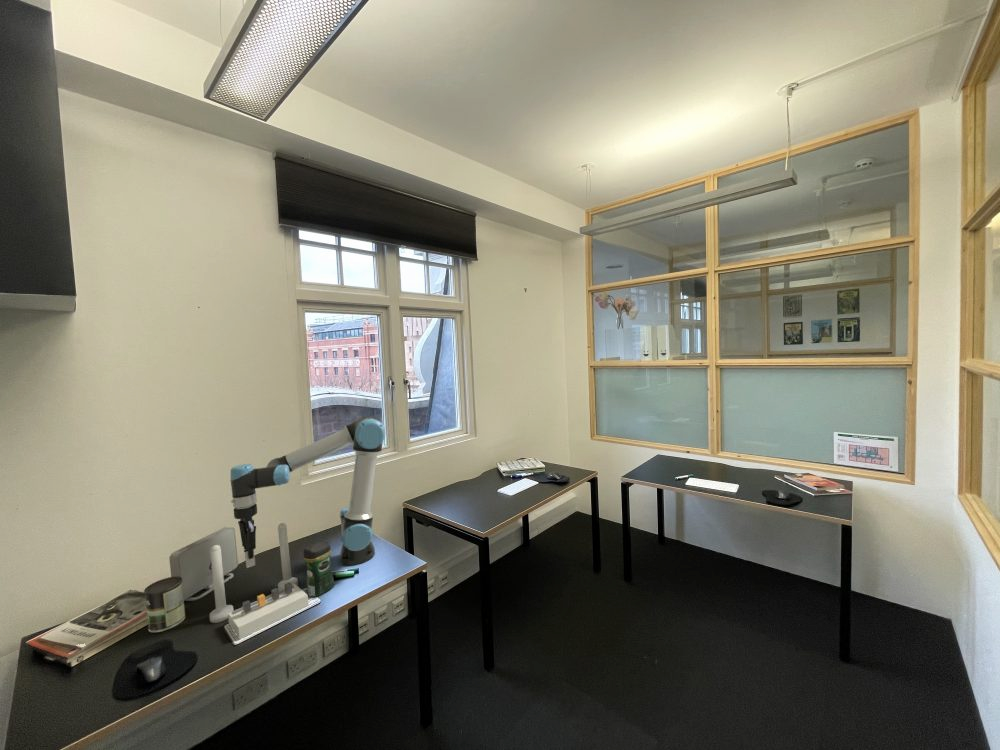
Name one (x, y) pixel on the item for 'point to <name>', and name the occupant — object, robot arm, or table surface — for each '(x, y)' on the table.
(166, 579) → the coffee can
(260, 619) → the breaker panel
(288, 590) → the breaker paddles
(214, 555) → the white peg stand
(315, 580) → the coffee jar
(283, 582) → the white rod
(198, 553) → the network device
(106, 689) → the table surface
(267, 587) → the table surface
